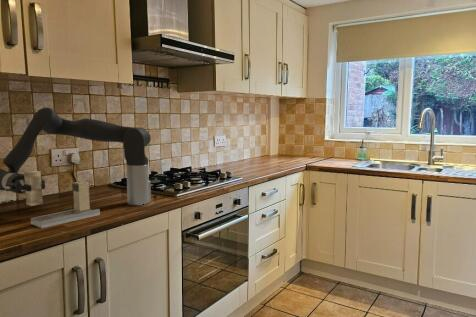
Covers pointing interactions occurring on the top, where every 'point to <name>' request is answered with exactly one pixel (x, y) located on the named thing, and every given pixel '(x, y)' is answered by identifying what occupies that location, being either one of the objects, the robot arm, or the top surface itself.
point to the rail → (77, 213)
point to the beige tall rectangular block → (33, 188)
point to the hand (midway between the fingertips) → (37, 187)
